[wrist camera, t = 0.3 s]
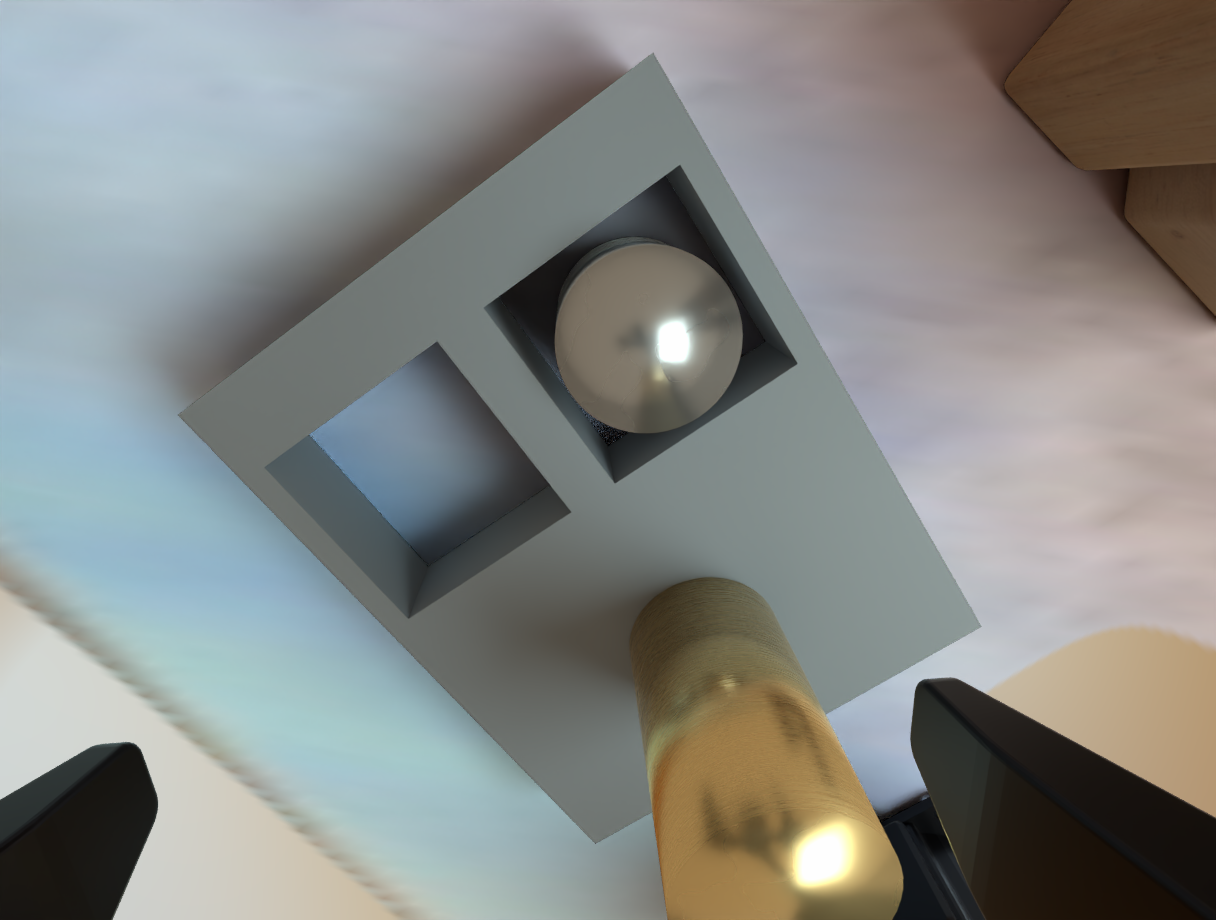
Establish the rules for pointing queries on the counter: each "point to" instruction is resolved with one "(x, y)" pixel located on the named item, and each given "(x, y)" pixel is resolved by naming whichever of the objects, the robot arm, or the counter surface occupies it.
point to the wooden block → (1137, 115)
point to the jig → (594, 469)
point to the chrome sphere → (646, 335)
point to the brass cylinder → (749, 769)
